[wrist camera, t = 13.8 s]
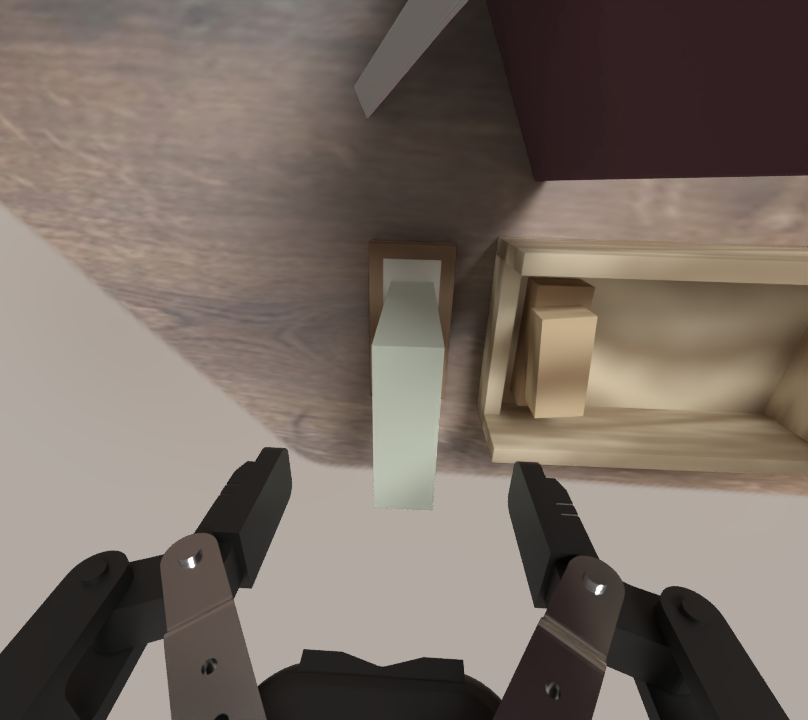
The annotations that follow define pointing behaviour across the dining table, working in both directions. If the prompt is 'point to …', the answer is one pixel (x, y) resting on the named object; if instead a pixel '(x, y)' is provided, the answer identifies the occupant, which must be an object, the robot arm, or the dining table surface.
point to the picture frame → (636, 83)
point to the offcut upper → (559, 360)
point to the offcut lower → (543, 295)
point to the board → (412, 265)
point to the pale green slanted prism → (406, 396)
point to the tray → (662, 357)
